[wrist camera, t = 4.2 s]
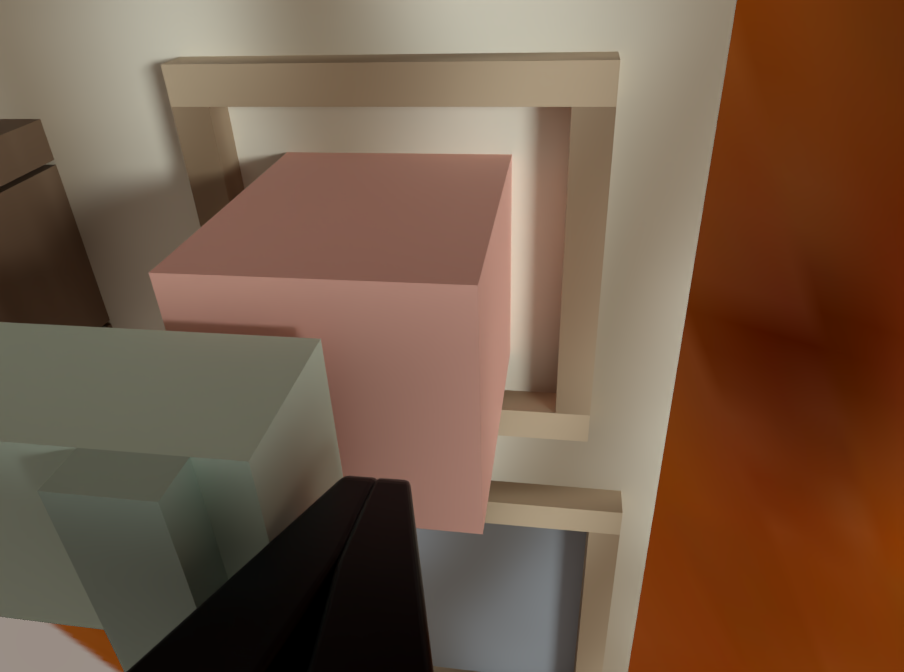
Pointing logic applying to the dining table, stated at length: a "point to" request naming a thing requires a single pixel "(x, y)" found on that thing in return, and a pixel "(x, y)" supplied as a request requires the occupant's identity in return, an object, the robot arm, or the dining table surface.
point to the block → (374, 305)
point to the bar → (150, 469)
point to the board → (423, 132)
